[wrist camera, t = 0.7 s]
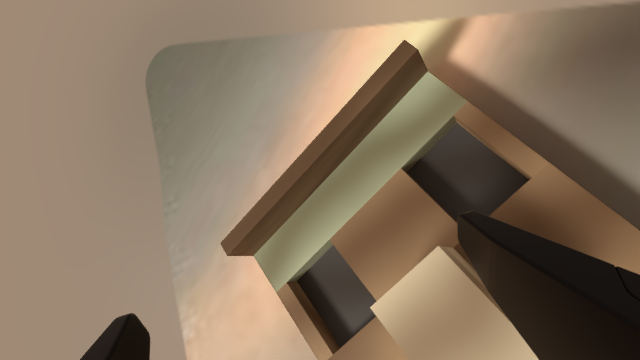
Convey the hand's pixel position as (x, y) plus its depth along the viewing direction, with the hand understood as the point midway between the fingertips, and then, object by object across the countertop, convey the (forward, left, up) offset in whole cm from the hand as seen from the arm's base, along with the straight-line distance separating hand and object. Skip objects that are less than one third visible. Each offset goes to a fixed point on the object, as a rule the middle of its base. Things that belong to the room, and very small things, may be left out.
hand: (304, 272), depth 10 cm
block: (-3, 0, -11) cm, 11 cm away
